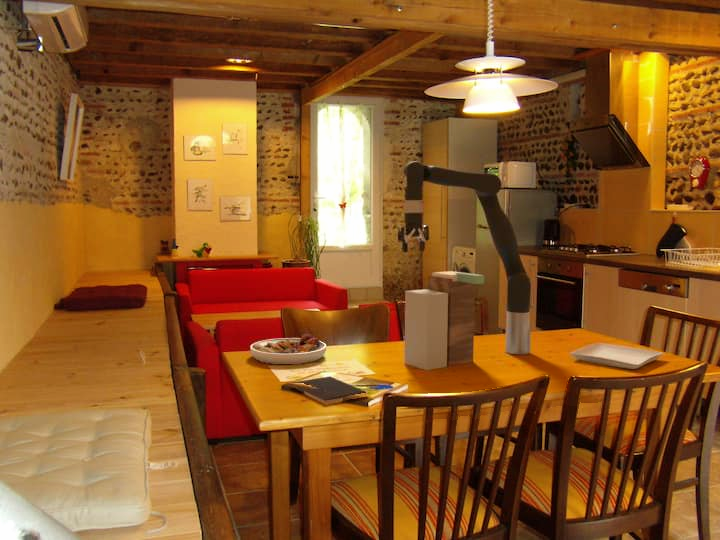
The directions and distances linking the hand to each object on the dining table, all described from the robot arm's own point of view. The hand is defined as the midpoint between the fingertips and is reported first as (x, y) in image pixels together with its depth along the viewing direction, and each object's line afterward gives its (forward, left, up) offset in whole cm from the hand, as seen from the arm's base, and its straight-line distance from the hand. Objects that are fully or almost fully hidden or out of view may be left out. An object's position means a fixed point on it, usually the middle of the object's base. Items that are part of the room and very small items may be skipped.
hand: (413, 251), depth 276 cm
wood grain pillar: (-12, +16, -42) cm, 46 cm away
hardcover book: (+37, +57, -42) cm, 80 cm away
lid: (-15, +20, -10) cm, 27 cm away
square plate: (-78, +19, -42) cm, 91 cm away
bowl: (+51, +6, -42) cm, 66 cm away
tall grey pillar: (-1, +22, -42) cm, 47 cm away
